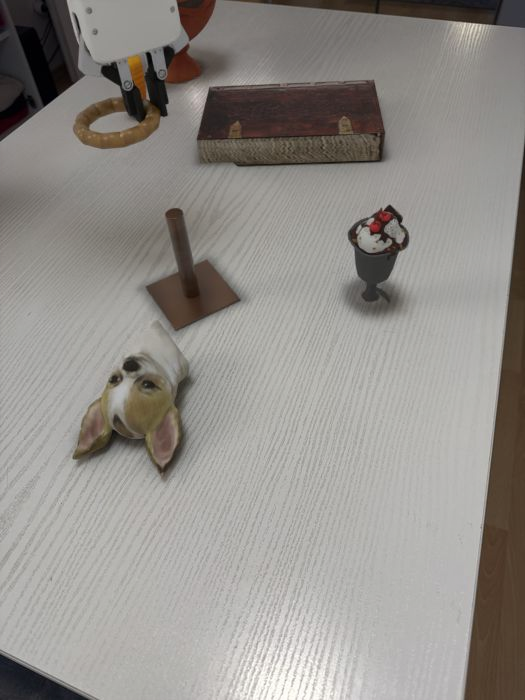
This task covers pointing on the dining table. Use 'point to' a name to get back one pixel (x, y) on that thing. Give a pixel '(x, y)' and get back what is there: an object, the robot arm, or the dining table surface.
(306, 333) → the dining table surface
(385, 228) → the sundae
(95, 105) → the ring
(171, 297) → the peg
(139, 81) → the carrot
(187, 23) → the goblet
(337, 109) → the hardback book
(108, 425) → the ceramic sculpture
